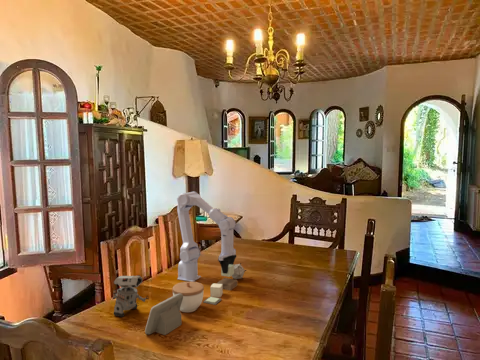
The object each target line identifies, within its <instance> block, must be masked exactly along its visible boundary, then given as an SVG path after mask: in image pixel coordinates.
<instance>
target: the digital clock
mask: <svg viewBox="0 0 480 360" xmlns="http://www.w3.org/2000/svg"><path fill="white" fill-rule="evenodd" d="M182 300H183V294H182V293H180V294H176V295H174V296H173V295H172V296H171V297H168V298H167V299H165V300H163V301H160V302H159V303H157V304H156V305H153V306H152V307H151V308H150V311H149V315H148V316H147V317H148V318H147V322H146V323H145V324H146V325H145V328H144V329H145V330H144V332H145V334H146V335H151V334H154V333H157V334H161V335H163V336H167V335H168V334H169V333H171V332H172V331H174V330H176V329H177V328H179V327H180V326H181V325H182V313H181V312H182V311H180V307H181V304H182Z"/></svg>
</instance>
